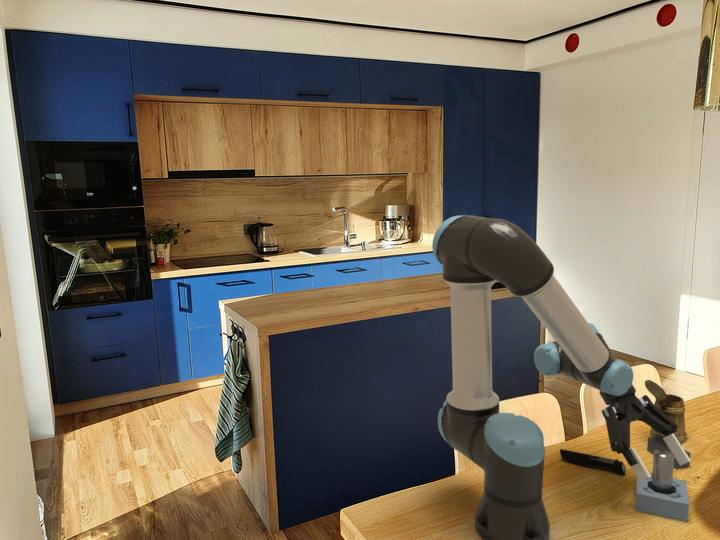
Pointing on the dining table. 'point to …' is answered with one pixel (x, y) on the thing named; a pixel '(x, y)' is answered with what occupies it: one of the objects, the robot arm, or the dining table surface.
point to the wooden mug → (668, 409)
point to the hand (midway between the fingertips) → (666, 471)
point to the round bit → (662, 471)
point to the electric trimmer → (593, 461)
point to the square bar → (659, 443)
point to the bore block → (663, 499)
